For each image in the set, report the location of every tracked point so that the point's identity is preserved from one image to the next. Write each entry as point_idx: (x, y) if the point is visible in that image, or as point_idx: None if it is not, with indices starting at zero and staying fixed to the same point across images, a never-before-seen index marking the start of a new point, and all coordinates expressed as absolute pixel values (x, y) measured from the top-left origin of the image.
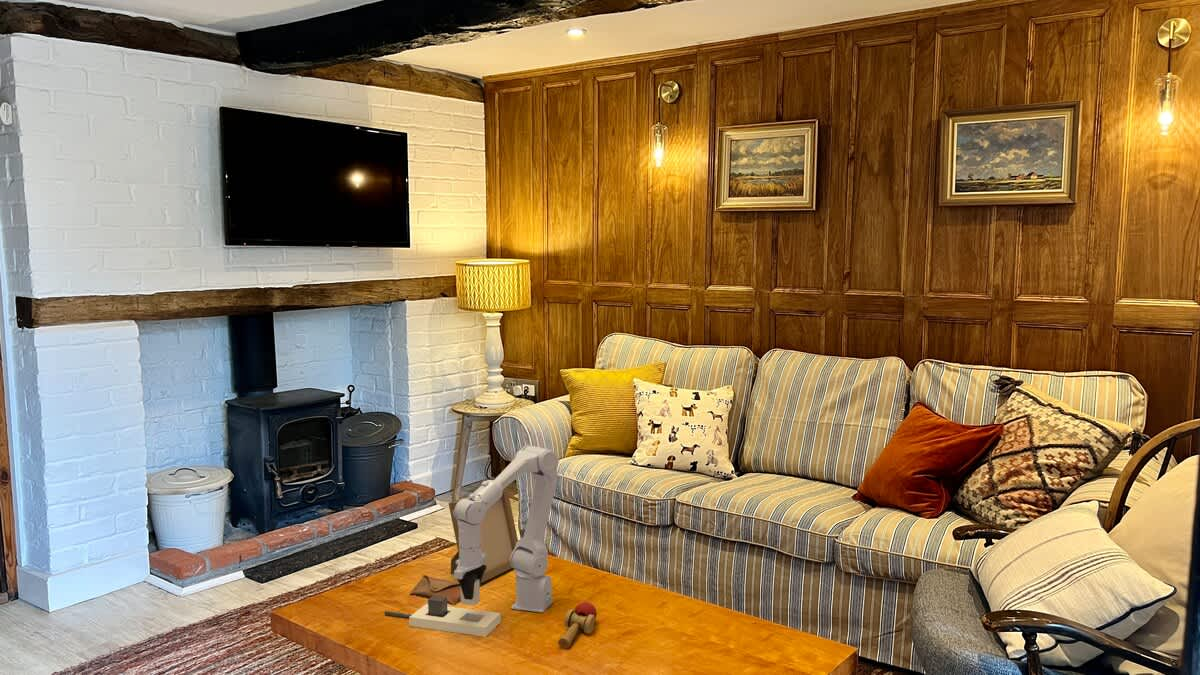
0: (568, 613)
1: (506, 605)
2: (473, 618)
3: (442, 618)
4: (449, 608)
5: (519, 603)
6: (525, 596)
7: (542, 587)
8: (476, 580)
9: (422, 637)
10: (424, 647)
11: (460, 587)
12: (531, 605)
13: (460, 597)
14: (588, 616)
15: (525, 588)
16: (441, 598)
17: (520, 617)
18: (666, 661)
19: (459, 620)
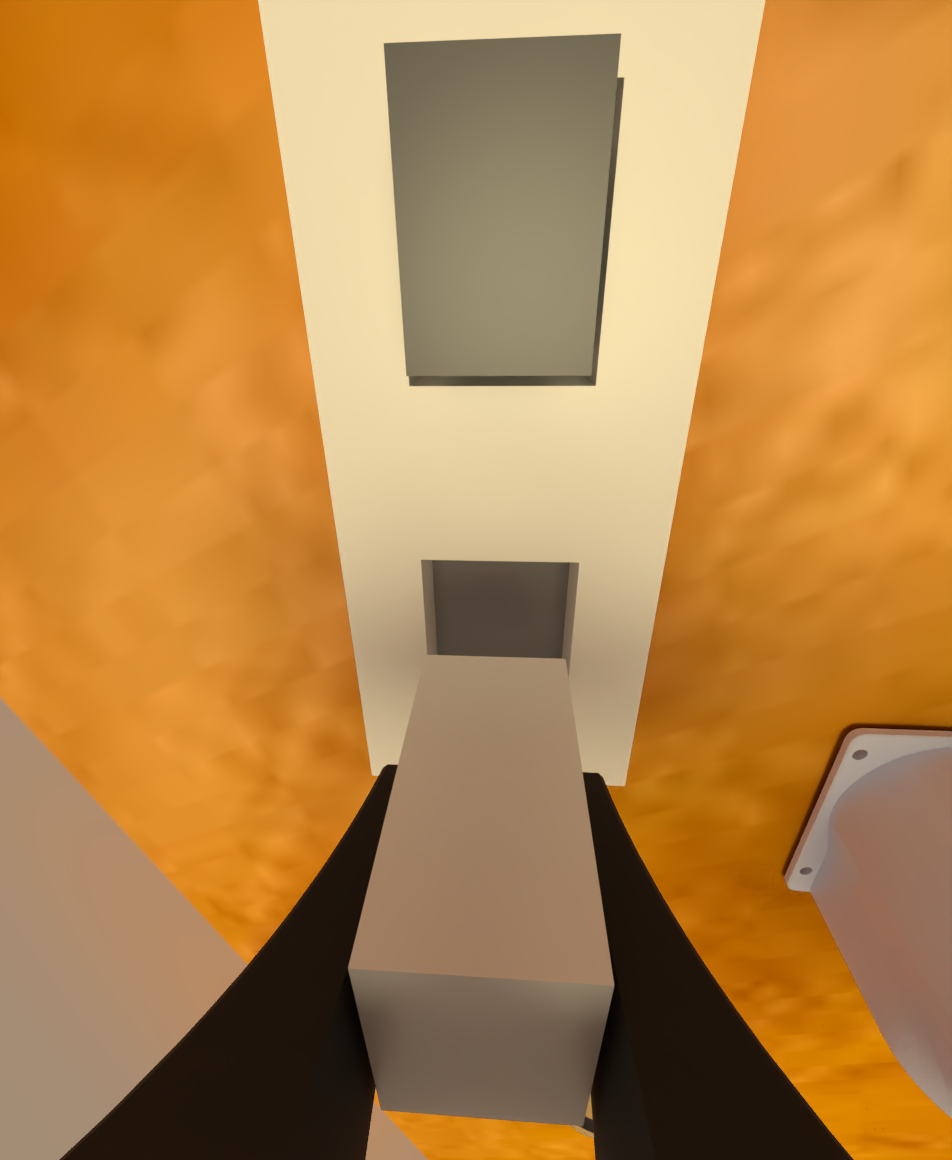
0: (590, 1096)
1: (930, 677)
2: (570, 599)
3: (384, 393)
4: (656, 331)
5: (872, 804)
6: (883, 900)
7: (906, 1066)
8: (505, 1114)
9: (156, 293)
10: (36, 419)
11: (380, 842)
12: (839, 861)
13: None
14: (585, 1132)
15: (929, 974)
16: (511, 310)
17: (711, 802)
18: (444, 1152)
19: (404, 572)
